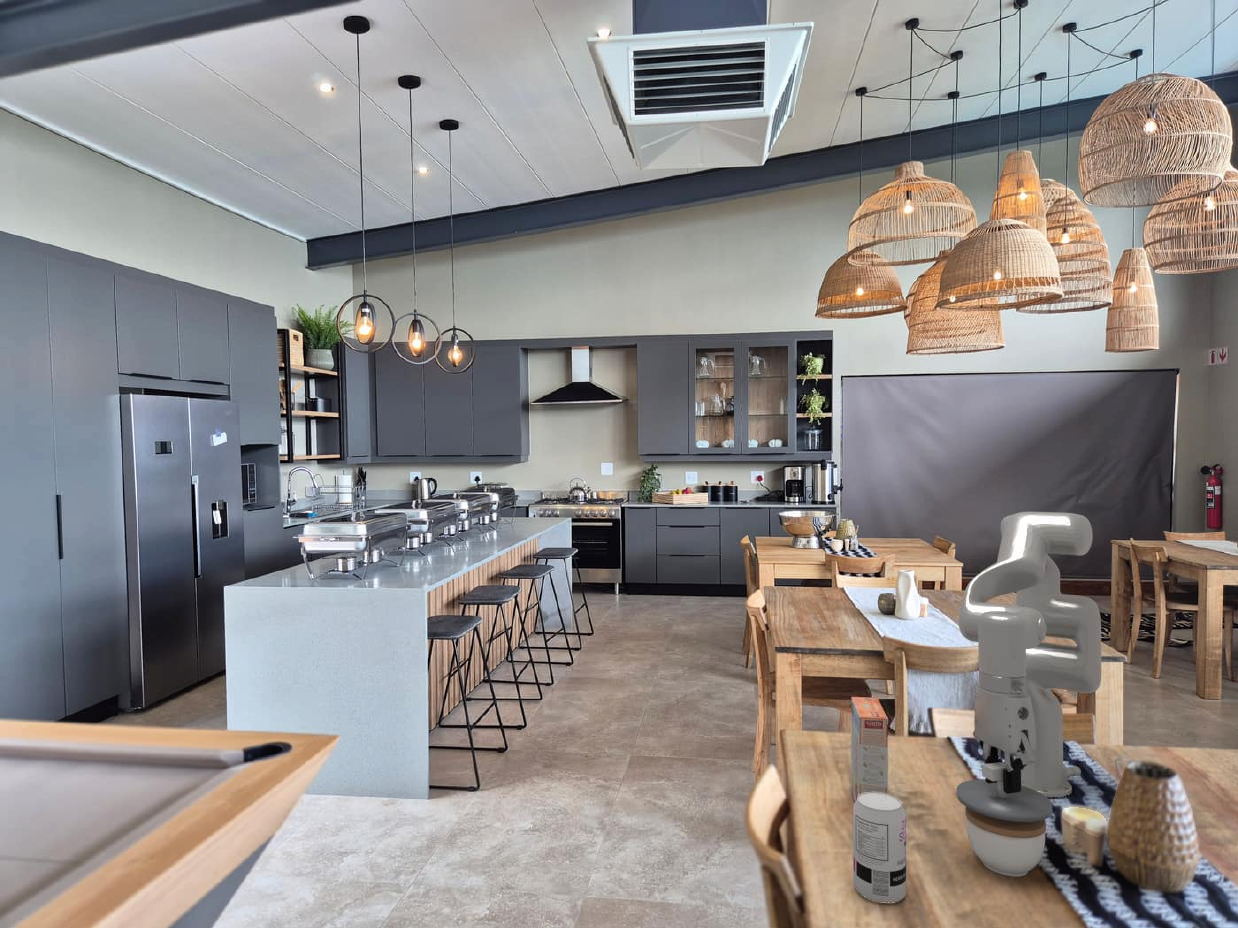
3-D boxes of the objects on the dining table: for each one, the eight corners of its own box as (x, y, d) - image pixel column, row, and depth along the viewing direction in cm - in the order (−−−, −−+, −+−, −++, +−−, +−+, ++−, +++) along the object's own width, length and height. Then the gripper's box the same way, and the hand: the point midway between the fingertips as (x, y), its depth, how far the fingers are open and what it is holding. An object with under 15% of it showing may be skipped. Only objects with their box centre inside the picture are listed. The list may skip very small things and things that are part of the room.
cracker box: (889, 824, 147) (889, 717, 147) (857, 821, 148) (857, 715, 148) (879, 794, 160) (879, 696, 161) (850, 792, 162) (850, 695, 162)
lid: (1007, 780, 141) (1006, 746, 141) (1073, 815, 126) (1073, 777, 126) (938, 789, 137) (937, 753, 137) (998, 826, 122) (998, 786, 122)
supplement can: (845, 879, 127) (845, 790, 127) (892, 877, 127) (892, 789, 128) (865, 907, 119) (865, 812, 119) (915, 904, 119) (915, 810, 120)
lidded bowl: (976, 840, 140) (975, 781, 140) (1052, 863, 132) (1052, 800, 132) (957, 868, 130) (956, 804, 130) (1038, 894, 122) (1037, 826, 122)
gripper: (1058, 694, 125) (1059, 804, 124) (986, 669, 141) (987, 767, 140) (1020, 698, 123) (1021, 810, 123) (952, 672, 139) (952, 771, 139)
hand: (1003, 785), depth 132 cm, fingers open, 3 cm apart
